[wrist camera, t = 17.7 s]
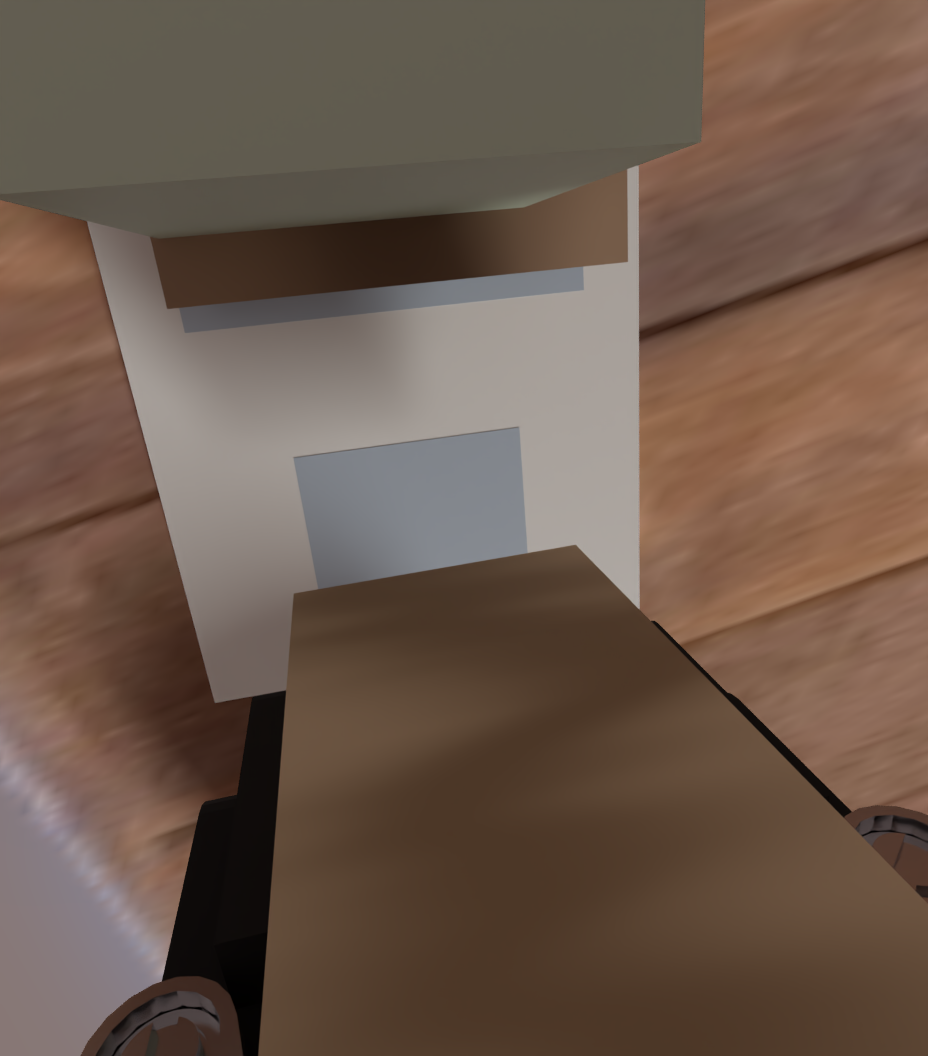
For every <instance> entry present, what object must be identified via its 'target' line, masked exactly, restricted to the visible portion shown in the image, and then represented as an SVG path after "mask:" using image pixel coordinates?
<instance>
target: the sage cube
mask: <svg viewBox="0 0 928 1056" xmlns="http://www.w3.org/2000/svg"><path fill="white" fill-rule="evenodd" d="M704 24H705V0H0V200H3V201H7V202H11V203H15V204H19V205H23V206H27V207H31V208H36V209H40V210H44V211H48V212H52V213H56V214H60V215H64V216H68V217H72V218H76V219H80V220H84V221H88V222H93V223H97V224H101V225H105V226H109V227H113V228H117V229H121V230H125V231H129V232H133V233H137V234H141V235H145V236H149V237H154V238H158V239H162V238H173V237H185V236H197V235H208V234H220V233H232V232H243V231H255V230H266V229H278V228H290V227H301V226H313V225H325V224H336V223H348V222H360V221H371V220H383V219H394V218H406V217H418V216H429V215H441V214H453V213H464V212H476V211H487V210H499V209H511V208H522V207H526V206H529V205H532V204H534V203H537V202H540V201H542V200H545V199H548V198H551V197H553V196H556V195H559V194H561V193H564V192H567V191H570V190H572V189H575V188H578V187H580V186H583V185H586V184H588V183H591V182H594V181H597V180H599V179H602V178H605V177H607V176H610V175H613V174H615V173H618V172H621V171H624V170H626V169H629V168H632V167H634V166H637V165H640V164H643V163H645V162H648V161H651V160H653V159H656V158H659V157H661V156H664V155H667V154H670V153H672V152H675V151H678V150H680V149H683V148H686V147H689V146H691V145H694V144H697V143H699V142H701V128H702V94H703V59H704Z"/></svg>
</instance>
